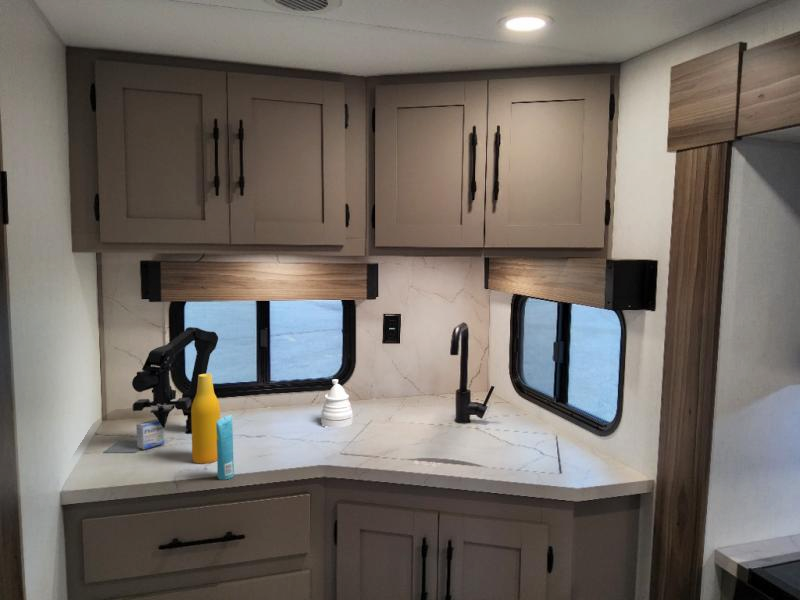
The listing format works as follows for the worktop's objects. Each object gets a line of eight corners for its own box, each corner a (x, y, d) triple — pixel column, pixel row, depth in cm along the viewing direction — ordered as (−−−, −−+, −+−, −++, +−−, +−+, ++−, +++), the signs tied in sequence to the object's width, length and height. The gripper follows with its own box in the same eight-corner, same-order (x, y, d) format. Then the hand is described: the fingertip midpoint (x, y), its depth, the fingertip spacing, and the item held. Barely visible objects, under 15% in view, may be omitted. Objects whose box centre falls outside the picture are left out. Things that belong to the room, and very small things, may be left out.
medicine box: (143, 449, 195) (142, 425, 194) (137, 447, 198) (135, 423, 197) (164, 443, 201) (163, 420, 201) (158, 441, 204) (157, 418, 203)
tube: (225, 471, 179) (224, 413, 177) (238, 473, 177) (237, 414, 176) (212, 480, 171) (211, 420, 170) (226, 482, 170) (225, 421, 168)
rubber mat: (149, 440, 205) (149, 440, 205) (135, 452, 193) (135, 452, 193) (118, 441, 205) (118, 440, 205) (103, 453, 193) (102, 452, 193)
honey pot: (316, 422, 230) (316, 379, 228) (343, 417, 237) (344, 375, 235) (330, 431, 219) (330, 386, 217) (358, 425, 226) (358, 382, 224)
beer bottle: (223, 453, 194) (221, 371, 191) (218, 463, 185) (216, 378, 182) (195, 454, 193) (193, 372, 190) (189, 464, 184) (187, 378, 181)
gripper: (194, 378, 206) (197, 419, 208) (143, 380, 205) (145, 421, 207) (185, 386, 195) (187, 429, 197) (130, 388, 194) (133, 431, 196)
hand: (163, 427), depth 199 cm, fingers closed
